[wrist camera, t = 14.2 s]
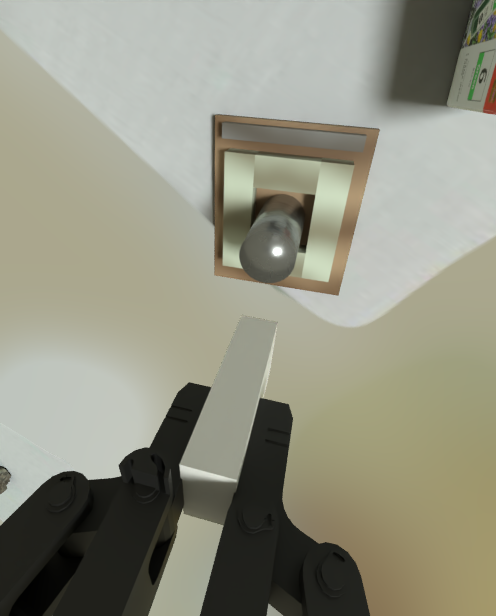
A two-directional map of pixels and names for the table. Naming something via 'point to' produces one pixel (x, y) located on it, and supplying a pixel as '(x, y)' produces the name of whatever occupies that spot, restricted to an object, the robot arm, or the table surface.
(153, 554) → the robot arm
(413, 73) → the table surface
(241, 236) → the jig
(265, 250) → the brushed metal cylinder
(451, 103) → the ink box
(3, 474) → the stone
